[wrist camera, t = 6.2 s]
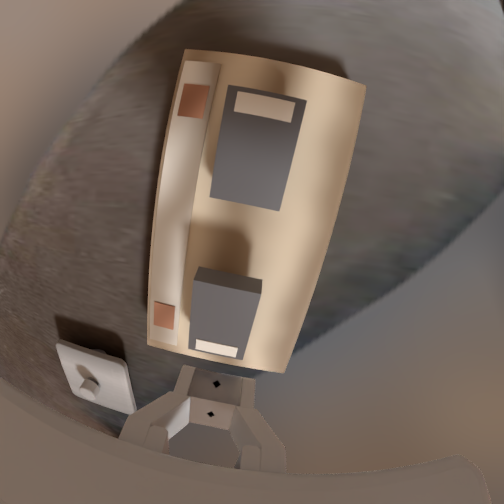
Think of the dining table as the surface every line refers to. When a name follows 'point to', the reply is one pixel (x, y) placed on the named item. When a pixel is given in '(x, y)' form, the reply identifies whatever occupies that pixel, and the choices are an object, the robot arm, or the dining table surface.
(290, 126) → the plate
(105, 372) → the light switch
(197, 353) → the switch panel
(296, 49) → the dining table surface
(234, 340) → the plate
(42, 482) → the robot arm
